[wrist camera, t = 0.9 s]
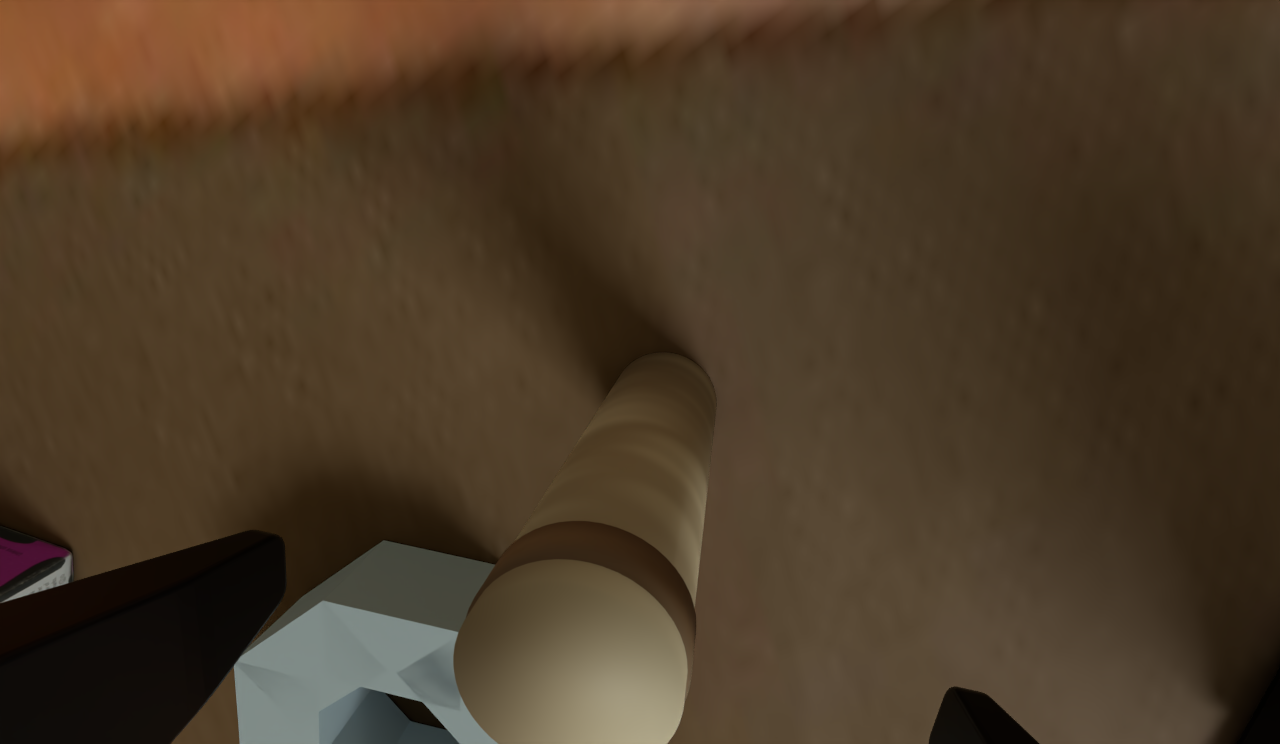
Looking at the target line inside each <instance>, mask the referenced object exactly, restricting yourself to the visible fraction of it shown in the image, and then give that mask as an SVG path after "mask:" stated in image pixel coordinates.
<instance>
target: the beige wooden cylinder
mask: <svg viewBox="0 0 1280 744" xmlns="http://www.w3.org/2000/svg"><path fill="white" fill-rule="evenodd" d="M716 406H717V401H716V393H715V390H714V386H713V384H712V382H711V380H710V378H709V377H708V375H707V374H706V373H705V371H704V370H703V369H702V368H701V367H700V366H699V365H698V364H696V363H695V362H693V361H692V360H690V359H688V358H686V357H684V356H681V355H678V354H674V353H668V352H657V353H651V354H648V355H644V356H642V357H640V358H638V359H636V360H635V361H633V362H632V363H630V364H629V365H628V366H627V367H626V368H625V369H624V370H623V372H622V373H621V375H620V376H619V378H618V379H617V381H616V382H615V384H614V386H613V387H612V389H611V390H610V392H609V393H608V395H607V397H606V398H605V400H604V401H603V403H602V404H601V406H600V408H599V409H598V411H597V412H596V414H595V415H594V417H593V419H592V420H591V422H590V423H589V425H588V427H587V428H586V430H585V431H584V433H583V434H582V436H581V438H580V439H579V441H578V442H577V444H576V445H575V447H574V449H573V450H572V452H571V453H570V455H569V456H568V458H567V460H566V461H565V463H564V464H563V466H562V468H561V469H560V471H559V472H558V474H557V475H556V477H555V479H554V480H553V482H552V483H551V485H550V486H549V488H548V490H547V491H546V493H545V494H544V496H543V497H542V499H541V501H540V502H539V504H538V505H537V507H536V509H535V510H534V512H533V513H532V515H531V516H530V518H529V520H528V521H527V523H526V524H525V526H524V527H523V529H522V531H521V532H520V534H519V535H518V537H517V538H516V540H515V542H514V543H513V544H512V545H511V546H510V547H509V548H508V549H507V550H506V551H505V552H504V553H503V555H502V556H501V557H500V559H499V560H498V562H497V563H496V565H495V566H494V568H493V569H492V571H491V572H490V574H489V575H488V577H487V579H486V580H485V582H484V583H483V585H482V586H481V588H480V589H479V591H478V593H477V594H476V596H475V597H474V599H473V601H472V603H471V605H470V607H469V609H468V612H467V616H466V619H465V620H464V622H463V624H462V626H461V628H460V630H459V632H458V635H457V639H456V642H455V647H454V654H453V669H454V674H455V680H456V684H457V687H458V690H459V693H460V695H461V698H462V700H463V702H464V704H465V706H466V708H467V709H468V711H469V712H470V714H471V716H472V717H473V718H474V720H475V721H476V722H477V723H478V725H479V726H480V727H481V728H482V729H483V730H484V731H485V732H486V733H487V734H488V735H489V736H490V737H491V738H492V739H493V740H494V741H495V742H497V743H498V744H667V743H668V742H669V740H670V739H671V738H672V736H673V735H674V733H675V731H676V729H677V727H678V725H679V723H680V720H681V717H682V713H683V709H684V702H685V700H686V698H687V695H688V691H689V688H690V683H691V675H692V665H693V655H694V645H695V635H696V614H695V600H696V590H697V581H698V572H699V563H700V554H701V544H702V535H703V526H704V517H705V508H706V498H707V489H708V480H709V471H710V462H711V452H712V443H713V434H714V425H715V416H716Z"/></svg>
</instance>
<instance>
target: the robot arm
mask: <svg viewBox="0 0 1280 744" xmlns="http://www.w3.org/2000/svg"><path fill="white" fill-rule="evenodd" d="M285 590H286V561H285V544H284V541H283V539H282V538H281V537H280V536H279V535H277V534H272V533H268V532H263V531H259V530H249V531H245V532H242V533H238V534H235V535H231V536H228V537H224V538H221V539H218V540H214V541H211V542H207V543H204V544H200V545H197V546H194V547H190V548H187V549H183V550H180V551H177V552H173V553H170V554H166V555H163V556H159V557H156V558H153V559H149V560H146V561H142V562H139V563H135V564H132V565H129V566H125V567H122V568H118V569H115V570H112V571H108V572H105V573H101V574H98V575H94V576H91V577H88V578H84V579H81V580H77V581H74V582H70V583H67V584H64V585H60V586H57V587H53V588H50V589H47V590H43V591H40V592H36V593H33V594H29V595H26V596H23V597H19V598H16V599H12V600H9V601H5V602H2V603H0V744H171V743H172V741H173V740H174V739H175V738H176V737H177V736H178V735H179V733H180V732H181V731H182V730H183V729H184V728H185V727H186V726H187V724H188V723H189V722H190V721H191V720H192V719H193V717H194V716H195V715H196V714H197V713H198V712H199V710H200V709H201V708H202V707H203V706H204V704H205V703H206V702H207V701H208V699H209V698H210V697H211V696H212V694H213V693H214V692H215V690H216V689H217V688H218V687H219V685H220V684H221V683H222V681H223V680H224V678H225V677H226V676H227V674H228V673H229V672H230V670H231V669H232V668H233V666H234V665H235V664H236V662H237V661H238V660H239V658H240V657H241V655H242V654H243V653H244V651H245V650H246V649H247V647H248V646H249V645H250V643H251V642H252V641H253V639H254V638H255V636H256V635H257V634H258V632H259V631H260V630H261V628H262V627H263V626H264V624H265V623H266V622H267V620H268V619H269V617H270V616H271V615H272V613H273V612H274V611H275V609H276V608H277V607H278V605H279V604H280V602H281V600H282V598H283V596H284V593H285ZM929 744H1039V743H1038V742H1037V741H1036V740H1035V739H1034V738H1033V737H1032V736H1031V735H1030V734H1029V733H1028V732H1027V731H1026V730H1024V729H1023V728H1022V727H1021V726H1020V725H1019V724H1018V723H1017V722H1016V721H1015V720H1014V719H1013V718H1012V717H1011V716H1010V715H1009V714H1008V713H1006V712H1005V711H1004V710H1003V709H1002V708H1001V707H1000V706H999V705H998V704H997V703H996V702H995V701H994V700H993V699H992V698H990V697H989V696H988V695H986V694H985V693H982V692H978V691H974V690H969V689H965V688H960V687H951V688H949V689H948V690H947V692H946V693H945V695H944V698H943V701H942V704H941V706H940V709H939V712H938V715H937V717H936V720H935V723H934V726H933V729H932V731H931V734H930V738H929ZM1237 744H1280V668H1279V670H1278V672H1277V673H1276V675H1275V677H1274V679H1273V681H1272V682H1271V684H1270V686H1269V688H1268V689H1267V691H1266V693H1265V695H1264V697H1263V698H1262V700H1261V702H1260V704H1259V705H1258V707H1257V709H1256V711H1255V713H1254V714H1253V716H1252V718H1251V720H1250V721H1249V723H1248V725H1247V727H1246V729H1245V730H1244V732H1243V734H1242V736H1241V737H1240V739H1239V741H1238V743H1237Z"/></svg>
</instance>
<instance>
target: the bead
mask: <svg viewBox="0 0 1280 744" xmlns="http://www.w3.org/2000/svg"><path fill="white" fill-rule="evenodd" d="M494 566H495V564H490V563H486V562H481V561H477V560H472V559H467V558H463V557H458V556H454V555H449V554H445V553H440V552H435V551H431V550H426V549H422V548H417V547H413V546H408V545H403V544H399V543H394V542H390V541H385V540H383V541H382V542H380V543H379V544H378V545H376V546H375V547H373V548H372V549H370V550H369V551H367V552H366V553H365V554H363V555H362V556H360V557H359V558H357V559H356V560H354V561H353V562H352V563H350V564H349V565H347V566H346V567H344V568H343V569H341V570H340V571H339V572H337V573H336V574H334V575H333V576H331V577H330V578H328V579H327V580H326V581H324V582H323V583H321V584H320V585H318V586H317V587H315V588H314V589H313V590H311V591H310V592H308V593H307V594H305V595H304V596H302V597H301V598H300V599H299V600H298V601H297V602H296V603H295V604H294V605H293V606H292V607H291V608H290V609H288V610H287V611H286V612H285V613H284V614H283V615H282V616H281V617H280V618H279V619H278V620H277V621H276V622H275V623H274V624H273V625H271V626H270V627H269V628H268V629H267V630H266V631H265V632H264V633H263V634H262V635H261V636H260V637H259V638H258V639H257V640H255V641H254V642H253V643H252V644H251V645H250V646H249V647H248V648H247V649H246V650H245V651H244V653H243V654H242V655H241V657H240V658H239V660H238V661H237V662H236V664H235V665H234V672H235V685H236V699H237V712H238V725H239V738H240V744H498V743H497V742H495V741H494V740H493V739H492V738H491V737H490V736H489V735H488V734H487V733H486V732H485V731H484V730H483V729H482V728H481V727H480V726H479V725H478V723H477V722H476V721H475V720H474V718H473V717H472V716H471V714H470V712H469V711H468V709H467V708H466V706H465V704H464V702H463V700H462V698H461V695H460V693H459V690H458V687H457V684H456V680H455V674H454V669H453V654H454V647H455V642H456V639H457V635H458V632H459V630H460V628H461V626H462V624H463V622H464V620H465V619H466V616H467V612H468V609H469V607H470V605H471V603H472V601H473V599H474V597H475V596H476V594H477V593H478V591H479V589H480V588H481V586H482V585H483V583H484V582H485V580H486V579H487V577H488V575H489V574H490V572H491V571H492V569H493V568H494ZM385 693H388V694H392V695H396V696H400V697H405V698H409V699H413V700H417V701H421V702H423V703H424V704H425V706H426V707H427V708H428V709H429V710H430V711H431V712H432V713H433V714H434V716H435V717H436V718H437V719H438V720H439V721H440V722H441V723H442V724H443V726H444V727H445V728H446V729H447V730H444V729H440V728H436V727H432V726H428V725H424V724H420V723H416V722H412V721H410V720H409V719H408V718H407V717H406V716H405V715H404V713H403V712H402V711H401V710H400V709H399V708H398V707H397V706H396V705H395V704H394V702H393V701H392V700H391V699H390V698H389V697H388V696H387V695H386V694H385Z"/></svg>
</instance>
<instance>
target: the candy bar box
mask: <svg viewBox="0 0 1280 744" xmlns="http://www.w3.org/2000/svg"><path fill="white" fill-rule="evenodd" d="M70 582H73V559H72V553H71V552H70V551H68V550H67V549H65V548H63V547H60V546H57V545H54V544H51V543H48V542H45V541H43V540H40V539H37V538H34V537H31V536H28V535H25V534H23V533H20V532H17V531H14V530H11V529H8V528H5V527H2V526H0V603H2V602H5V601H9V600H12V599H16V598H19V597H23V596H26V595H29V594H33V593H36V592H40V591H43V590H47V589H50V588H53V587H57V586H60V585H64V584H67V583H70Z"/></svg>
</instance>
